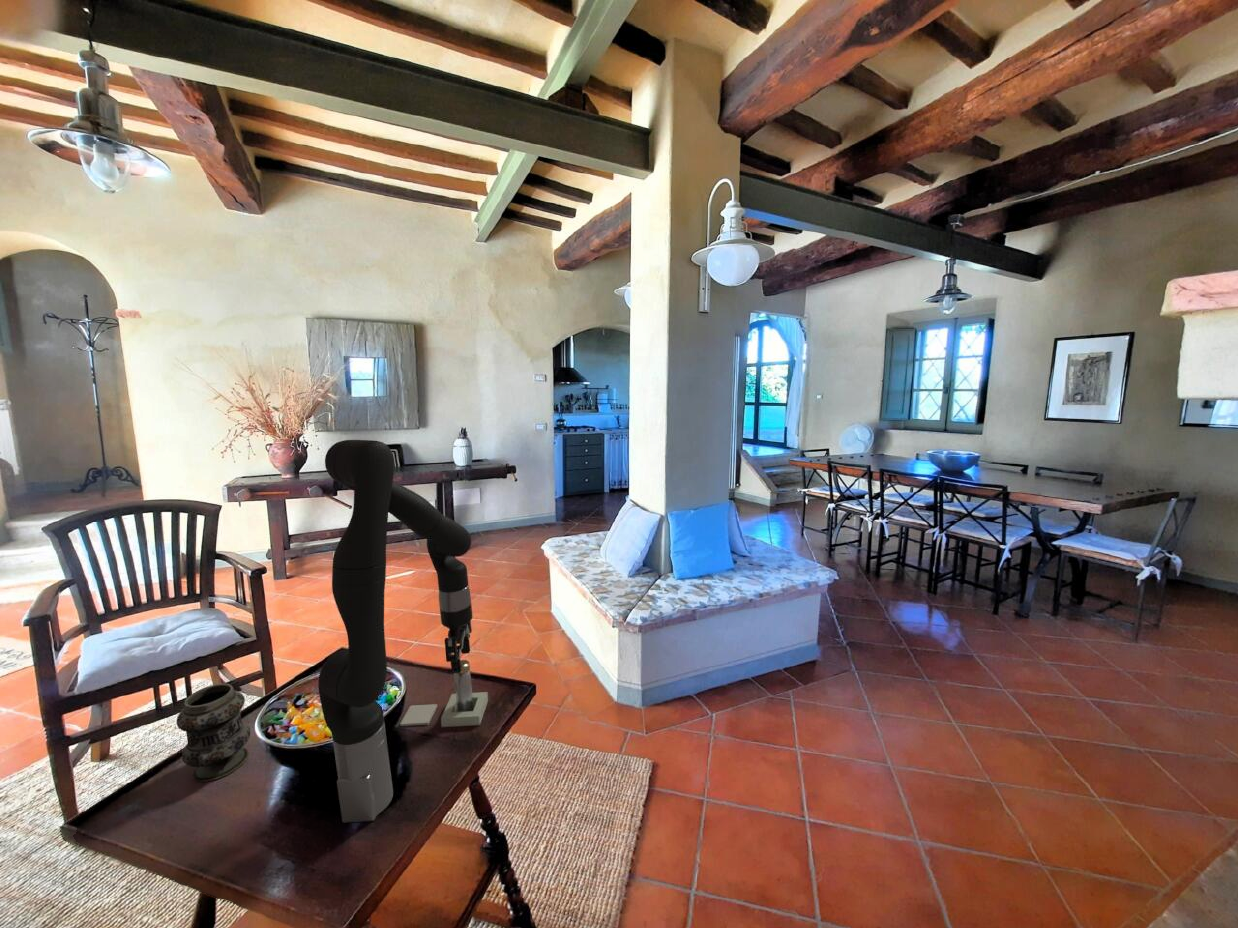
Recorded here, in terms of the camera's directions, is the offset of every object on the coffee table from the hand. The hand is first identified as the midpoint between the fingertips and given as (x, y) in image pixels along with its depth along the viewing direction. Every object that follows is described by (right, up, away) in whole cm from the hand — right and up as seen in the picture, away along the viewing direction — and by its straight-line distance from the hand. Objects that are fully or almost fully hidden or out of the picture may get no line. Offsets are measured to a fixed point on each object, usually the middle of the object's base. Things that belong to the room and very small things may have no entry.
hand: (461, 662), depth 123 cm
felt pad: (-12, -15, +2) cm, 19 cm away
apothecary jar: (-51, -19, -13) cm, 56 cm away
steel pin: (0, -14, +2) cm, 15 cm away
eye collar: (0, -14, +2) cm, 15 cm away
